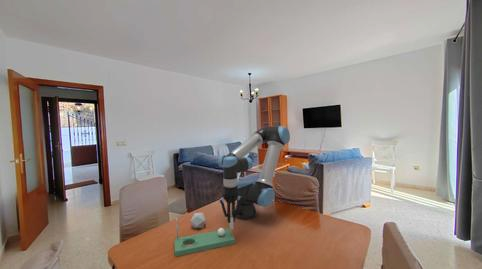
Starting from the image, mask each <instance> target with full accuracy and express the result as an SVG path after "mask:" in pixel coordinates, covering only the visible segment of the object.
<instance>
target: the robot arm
mask: <svg viewBox="0 0 482 269" xmlns="http://www.w3.org/2000/svg"><path fill="white" fill-rule="evenodd" d="M290 140H291V133H290V131H289V129H288V128H287V127H286V126H282V125H279V126H278V125H277V126H275V125H273V126H270V125H269V126H263V127H261V128H260V129H258V130H257V131H255V132H253V133H252V134H251V136H250V137H249V138H248V139H246V140H245V141H244V142H243V143H241V144H240V145H239V146H237V147H236V148H235V149H233V150H231V152H229V153H228V154H226V155H220V156H219V157H218V160H217V162H218V164H217V165H218V166H219V167H220V168H222V176H223V178H222V180H223V181H222V182H223V195H222V197H221V198H219V199H218V201H219V204H220V205H221V209H222V212H223V216H224V217H225V218H227V223H228V226H229V227H228V228H230V230H234V223H236V219H238V220H252V219H254V218H256V217H257V215H258V214H257V209H256V205H257V206H260V207H263V208H265V207H266V208H267V207H269V206H270V205H271V204H272V203H274V201H275V195H276V194H275V193H276V192H275V189H274V185H273V184H272V183H273V179H274V175H275V172H276V168H277V164H278V161H279V158H280V154H281V150H282V149H284V148H285V145H287V144H289V142H290ZM264 143H267V145H268V146H267V150H266V152H265V157H264V159H263V160H264V161H263V164H262V167H261V170H260V174H259V176H258V179H257V180H255V183H254V181H253V180H252V179H244V180H241V181H238V173H239V174H240V173H244V172H247V171H250V170H251V169H252V168H253V166H254V164H253V163H254V162H253V160H252V158H250V157H245V156H247V155H248V154H249V153H250V152H252V151H253V150H255V148H257V147H258V146H261V145H263V144H264ZM224 202H226V206H225V204H224Z"/></svg>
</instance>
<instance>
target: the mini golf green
mask: <svg viewBox="0 0 482 269" xmlns="http://www.w3.org/2000/svg"><path fill="white" fill-rule="evenodd" d="M223 229H224V230H225V234H224V235H223V236H219V235H218V229H217V230H213V231H208V232H201V233H196V234H191V235H188V236H187V235H186V236H181V237H179V225H178V217H175V230H176V231H175V232H176V238H174V257H175V258H176V257H180V256H186V255H191V254H193V253H195V254H196V253H199V252H204V251H208V250H213V249H217V248H223V247H227V246H231V245H235V244H236V238H235V237H234V236H235V235H233V232H232V229H230V227H227V228H223Z"/></svg>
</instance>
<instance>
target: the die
mask: <svg viewBox="0 0 482 269" xmlns="http://www.w3.org/2000/svg"><path fill="white" fill-rule="evenodd" d="M206 221H207V219H206V217H205V214H204V212H194V213H193V215H192V217H191V219H190V223H191V225H192V227H193V229H203V228H204V225H205V223H206Z"/></svg>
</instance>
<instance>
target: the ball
mask: <svg viewBox="0 0 482 269" xmlns="http://www.w3.org/2000/svg"><path fill="white" fill-rule="evenodd" d="M224 229H225V228H224V227H220V228H218V229H217V230H218V235H219V236H223V235H224V234H225V230H224Z"/></svg>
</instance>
